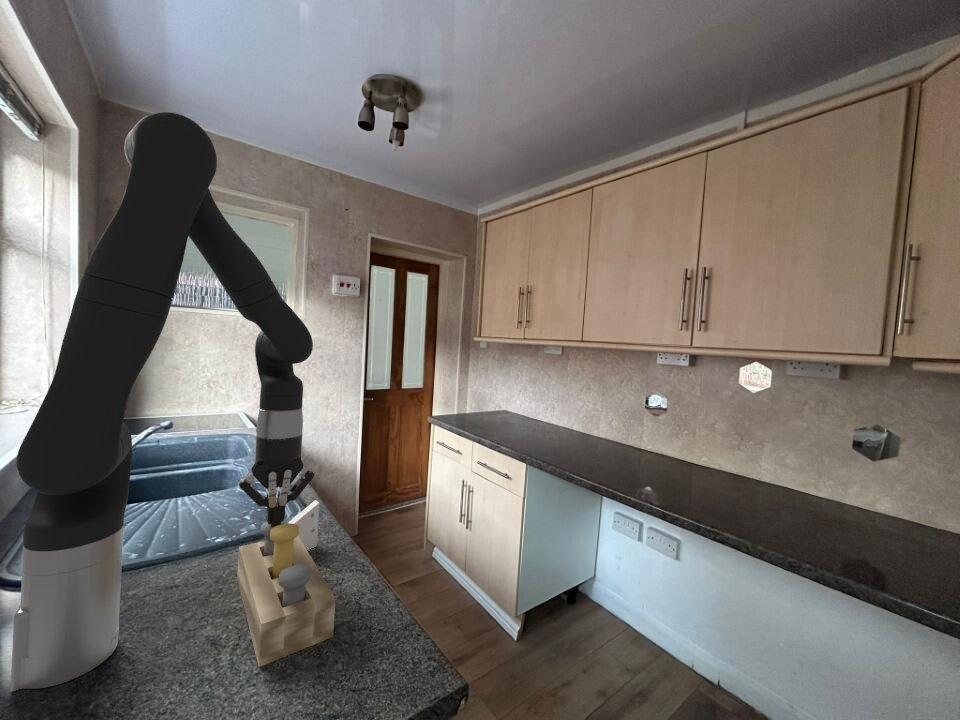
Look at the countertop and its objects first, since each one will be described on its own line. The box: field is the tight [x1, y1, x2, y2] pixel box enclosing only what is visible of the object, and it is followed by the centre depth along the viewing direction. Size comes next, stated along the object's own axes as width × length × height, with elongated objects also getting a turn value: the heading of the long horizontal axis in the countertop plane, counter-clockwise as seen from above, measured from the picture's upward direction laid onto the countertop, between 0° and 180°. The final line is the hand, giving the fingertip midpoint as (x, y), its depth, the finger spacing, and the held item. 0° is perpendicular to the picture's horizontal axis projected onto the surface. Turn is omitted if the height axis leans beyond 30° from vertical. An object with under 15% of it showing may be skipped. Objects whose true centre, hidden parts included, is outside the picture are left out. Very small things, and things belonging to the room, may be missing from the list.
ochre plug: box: [270, 524, 299, 580], centre depth 64 cm, size 4×4×9 cm
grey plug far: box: [260, 519, 289, 557], centre depth 71 cm, size 4×4×9 cm
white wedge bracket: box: [287, 499, 320, 550], centre depth 83 cm, size 4×10×9 cm, turn 141°
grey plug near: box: [279, 565, 311, 608], centre depth 58 cm, size 4×4×9 cm
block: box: [236, 536, 336, 668], centre depth 64 cm, size 10×24×6 cm, turn 39°
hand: (275, 524), depth 70 cm, fingers closed
